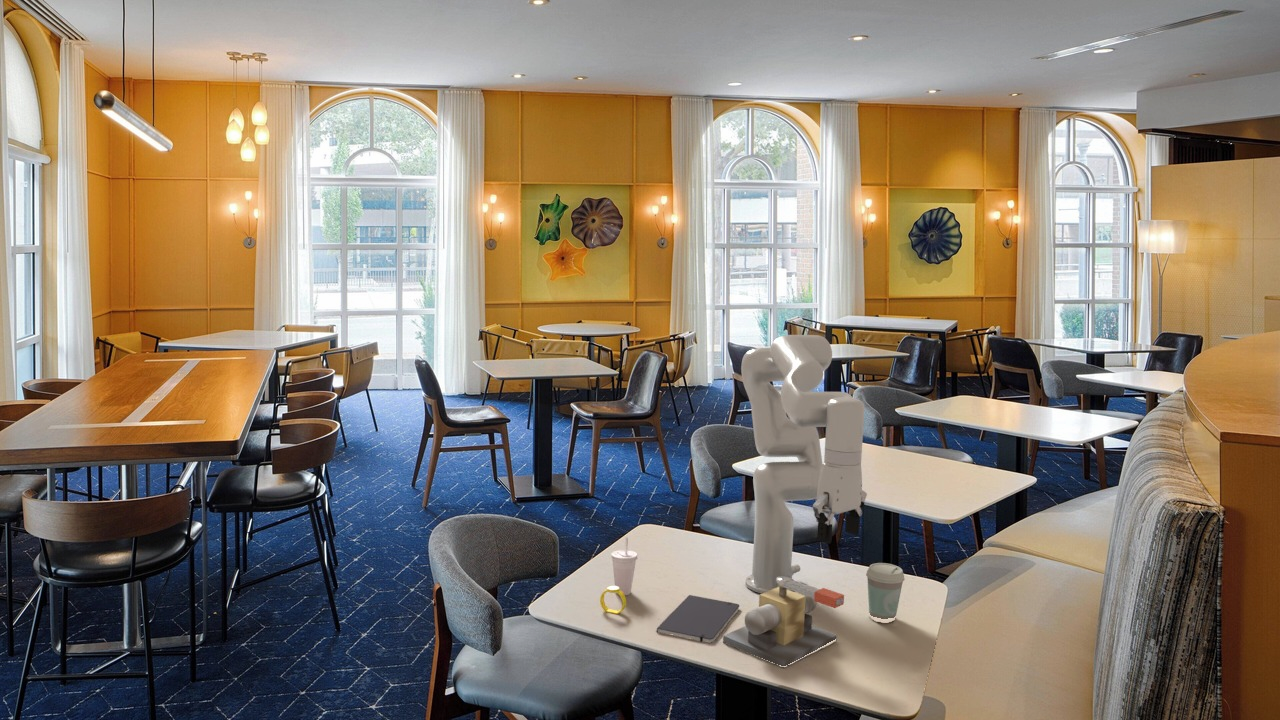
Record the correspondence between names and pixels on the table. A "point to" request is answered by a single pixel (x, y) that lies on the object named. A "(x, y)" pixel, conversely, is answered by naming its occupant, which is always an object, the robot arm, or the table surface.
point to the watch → (613, 590)
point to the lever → (812, 592)
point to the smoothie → (624, 568)
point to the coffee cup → (884, 589)
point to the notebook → (699, 618)
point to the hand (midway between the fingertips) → (838, 537)
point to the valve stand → (780, 628)
